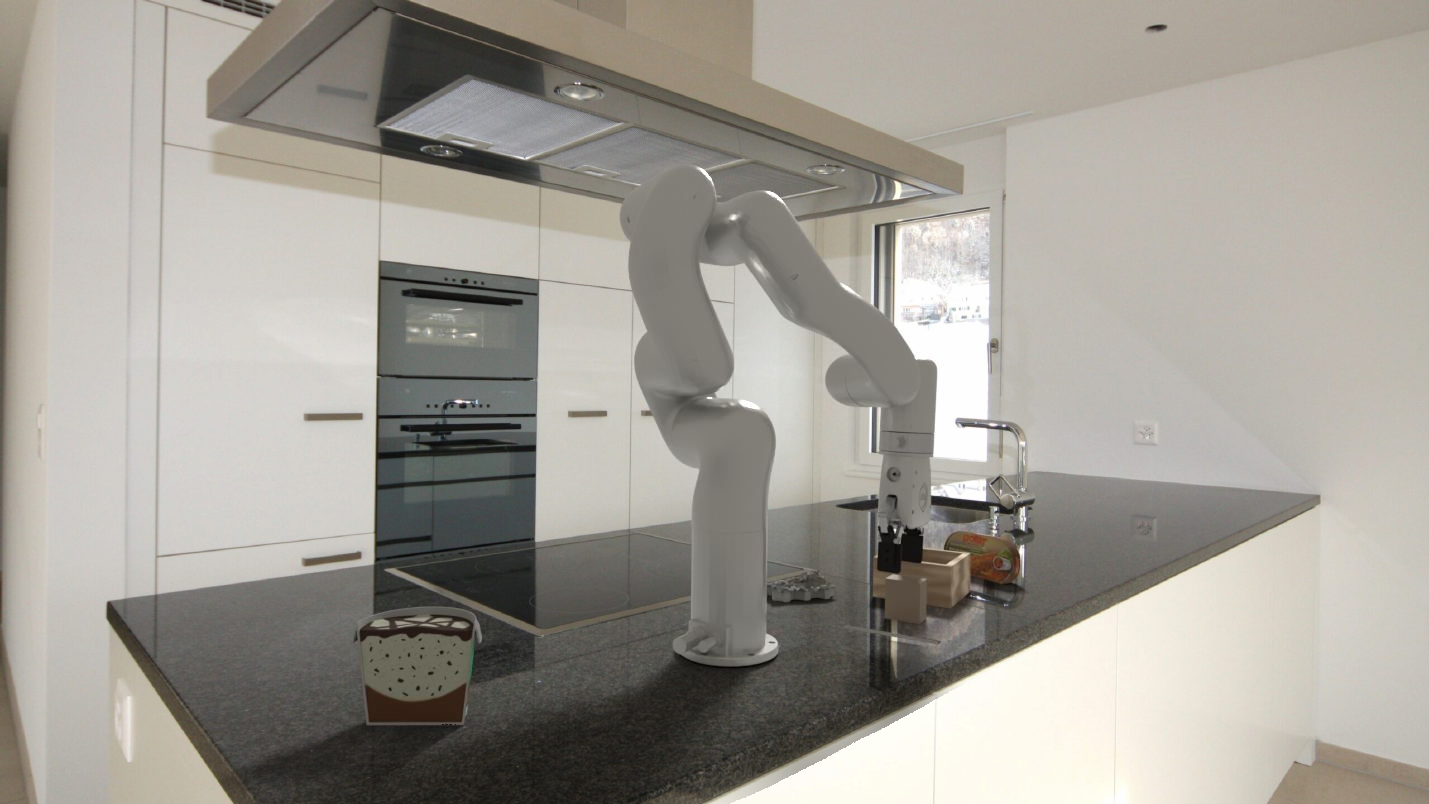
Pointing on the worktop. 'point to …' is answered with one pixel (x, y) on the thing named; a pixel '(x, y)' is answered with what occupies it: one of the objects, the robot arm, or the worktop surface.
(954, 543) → the tin
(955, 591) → the box
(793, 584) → the egg carton
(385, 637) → the food container
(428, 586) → the worktop surface
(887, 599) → the lid
